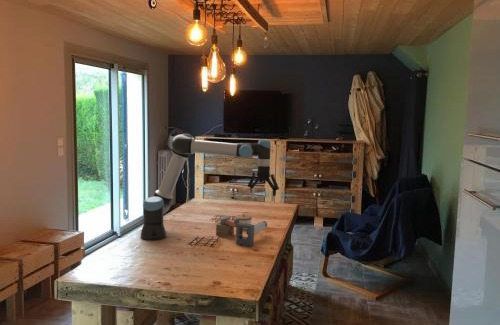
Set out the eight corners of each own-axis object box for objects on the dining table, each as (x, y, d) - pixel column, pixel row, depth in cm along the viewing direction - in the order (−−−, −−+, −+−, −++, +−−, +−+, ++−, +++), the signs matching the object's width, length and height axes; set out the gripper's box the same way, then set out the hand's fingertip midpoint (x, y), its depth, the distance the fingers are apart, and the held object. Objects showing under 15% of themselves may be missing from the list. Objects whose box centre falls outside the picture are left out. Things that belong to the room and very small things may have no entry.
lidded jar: (249, 231, 286) (250, 216, 285) (233, 229, 288) (233, 215, 287) (252, 226, 296) (253, 213, 295) (237, 225, 298) (237, 211, 297)
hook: (252, 236, 259) (252, 226, 259) (245, 234, 261) (245, 225, 261) (267, 228, 277) (267, 219, 276) (260, 227, 279) (261, 218, 278)
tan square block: (227, 237, 270) (227, 226, 269) (216, 235, 274) (216, 224, 273) (233, 234, 277) (234, 223, 276) (222, 232, 281) (223, 221, 280)
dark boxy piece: (250, 246, 253) (251, 226, 251) (235, 244, 257) (236, 224, 256) (253, 245, 256) (254, 224, 255) (239, 242, 261) (239, 222, 259)
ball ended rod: (218, 223, 275) (218, 214, 274) (226, 221, 279) (226, 213, 278) (234, 228, 263) (234, 219, 262) (242, 227, 266) (242, 218, 266)
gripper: (242, 164, 273) (242, 198, 276) (280, 167, 262) (278, 203, 264) (248, 163, 280) (247, 196, 282) (285, 166, 268) (283, 201, 271)
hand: (262, 199), depth 273 cm, fingers open, 13 cm apart
